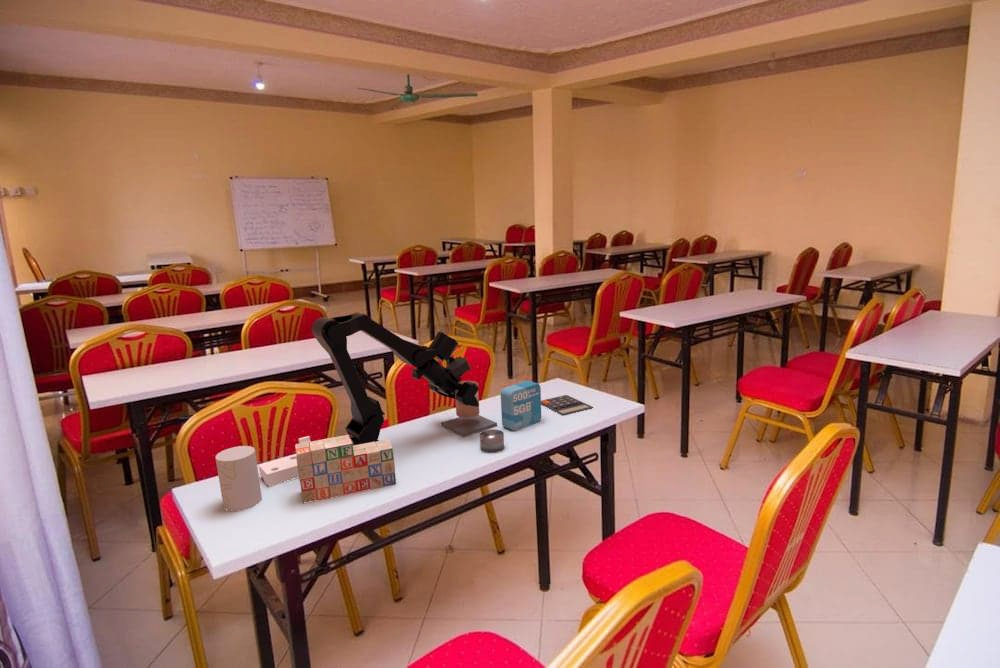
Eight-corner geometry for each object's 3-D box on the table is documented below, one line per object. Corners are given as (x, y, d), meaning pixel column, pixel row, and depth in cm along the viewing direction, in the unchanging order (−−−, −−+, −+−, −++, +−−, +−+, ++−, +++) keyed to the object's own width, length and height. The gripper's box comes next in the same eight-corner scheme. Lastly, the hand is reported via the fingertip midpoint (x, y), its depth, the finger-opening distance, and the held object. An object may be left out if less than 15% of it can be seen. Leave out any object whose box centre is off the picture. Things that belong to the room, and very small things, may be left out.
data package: (512, 432, 169) (510, 392, 166) (501, 428, 172) (499, 388, 170) (541, 420, 177) (540, 382, 174) (531, 417, 180) (530, 379, 177)
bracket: (311, 462, 155) (308, 435, 154) (321, 471, 150) (318, 443, 148) (260, 478, 148) (256, 449, 146) (268, 488, 142) (264, 458, 141)
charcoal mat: (463, 437, 167) (463, 433, 167) (440, 425, 176) (440, 422, 176) (497, 426, 174) (496, 422, 174) (473, 415, 183) (473, 412, 183)
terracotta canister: (472, 419, 170) (471, 388, 168) (451, 416, 173) (449, 386, 171) (483, 411, 176) (482, 382, 174) (463, 408, 179) (461, 379, 177)
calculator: (566, 394, 198) (593, 406, 185) (566, 396, 198) (593, 409, 185) (536, 400, 193) (562, 414, 180) (536, 403, 193) (562, 417, 180)
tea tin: (488, 454, 154) (487, 440, 154) (475, 447, 160) (475, 433, 159) (508, 448, 158) (508, 434, 157) (496, 441, 163) (495, 427, 162)
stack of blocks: (391, 474, 146) (387, 427, 144) (396, 484, 141) (392, 436, 138) (300, 492, 139) (294, 443, 136) (302, 504, 133) (295, 453, 131)
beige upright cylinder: (218, 503, 135) (210, 454, 133) (253, 490, 141) (246, 443, 138) (231, 515, 130) (223, 464, 127) (267, 501, 135) (260, 452, 133)
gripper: (471, 356, 160) (505, 386, 169) (435, 345, 175) (467, 373, 184) (448, 390, 157) (484, 419, 166) (413, 376, 172) (448, 403, 181)
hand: (471, 402), depth 174 cm, fingers closed on terracotta canister, 7 cm apart
